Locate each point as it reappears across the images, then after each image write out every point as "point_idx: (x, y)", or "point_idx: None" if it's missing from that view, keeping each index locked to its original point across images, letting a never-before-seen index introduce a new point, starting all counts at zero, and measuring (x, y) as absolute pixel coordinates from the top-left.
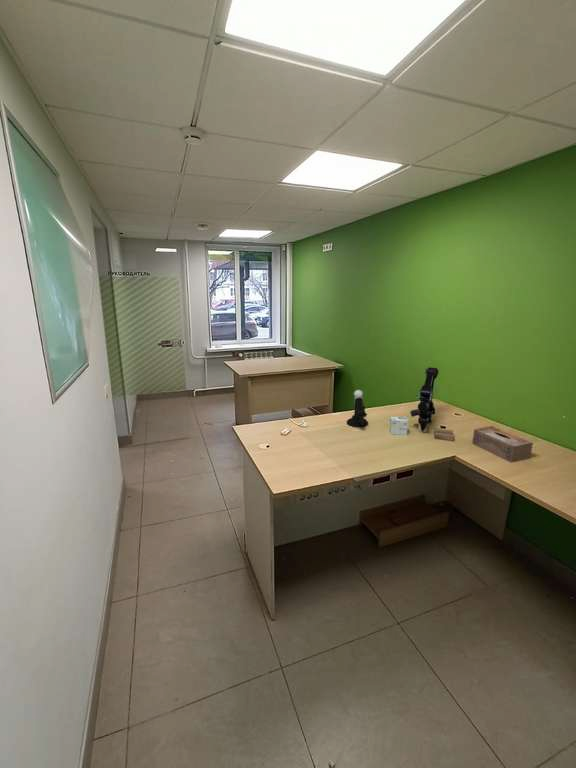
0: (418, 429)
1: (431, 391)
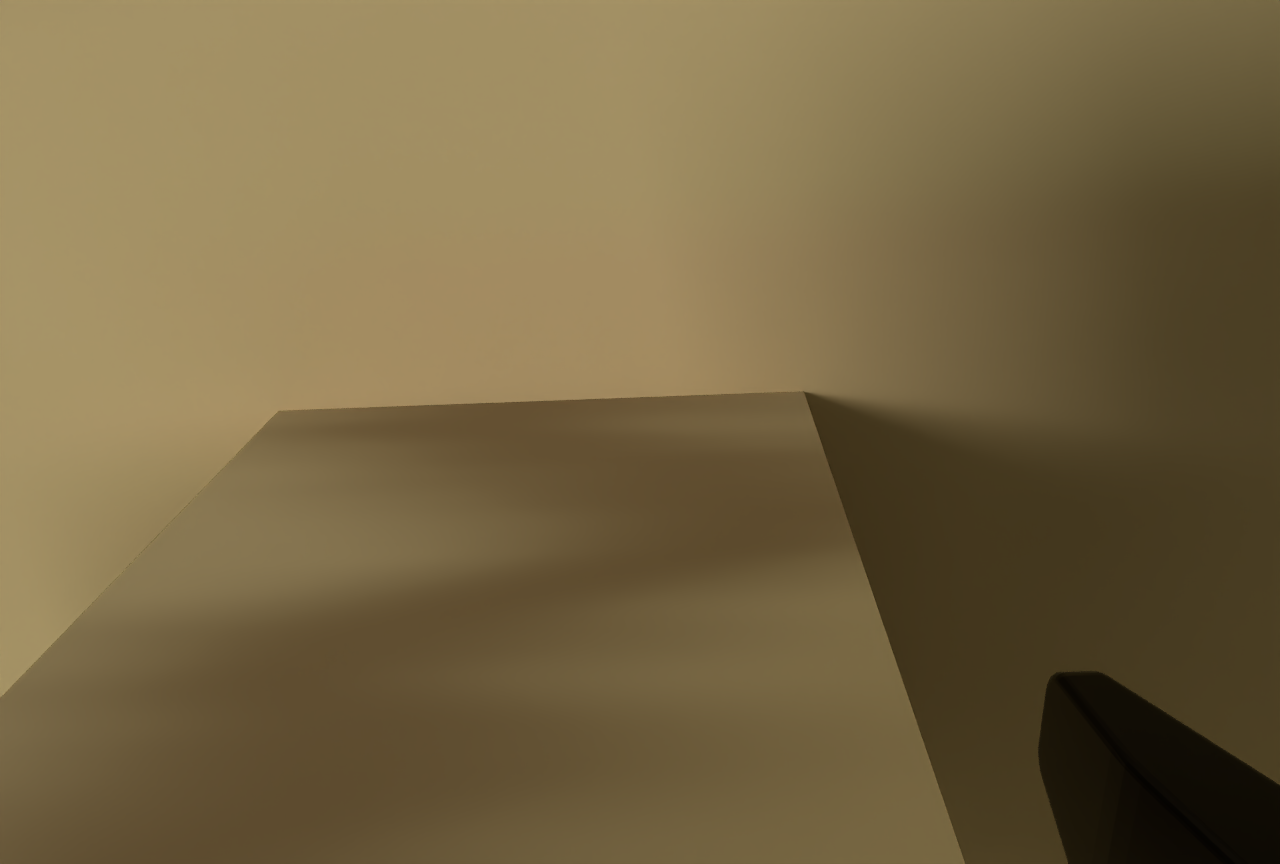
0: (218, 490)
1: None
